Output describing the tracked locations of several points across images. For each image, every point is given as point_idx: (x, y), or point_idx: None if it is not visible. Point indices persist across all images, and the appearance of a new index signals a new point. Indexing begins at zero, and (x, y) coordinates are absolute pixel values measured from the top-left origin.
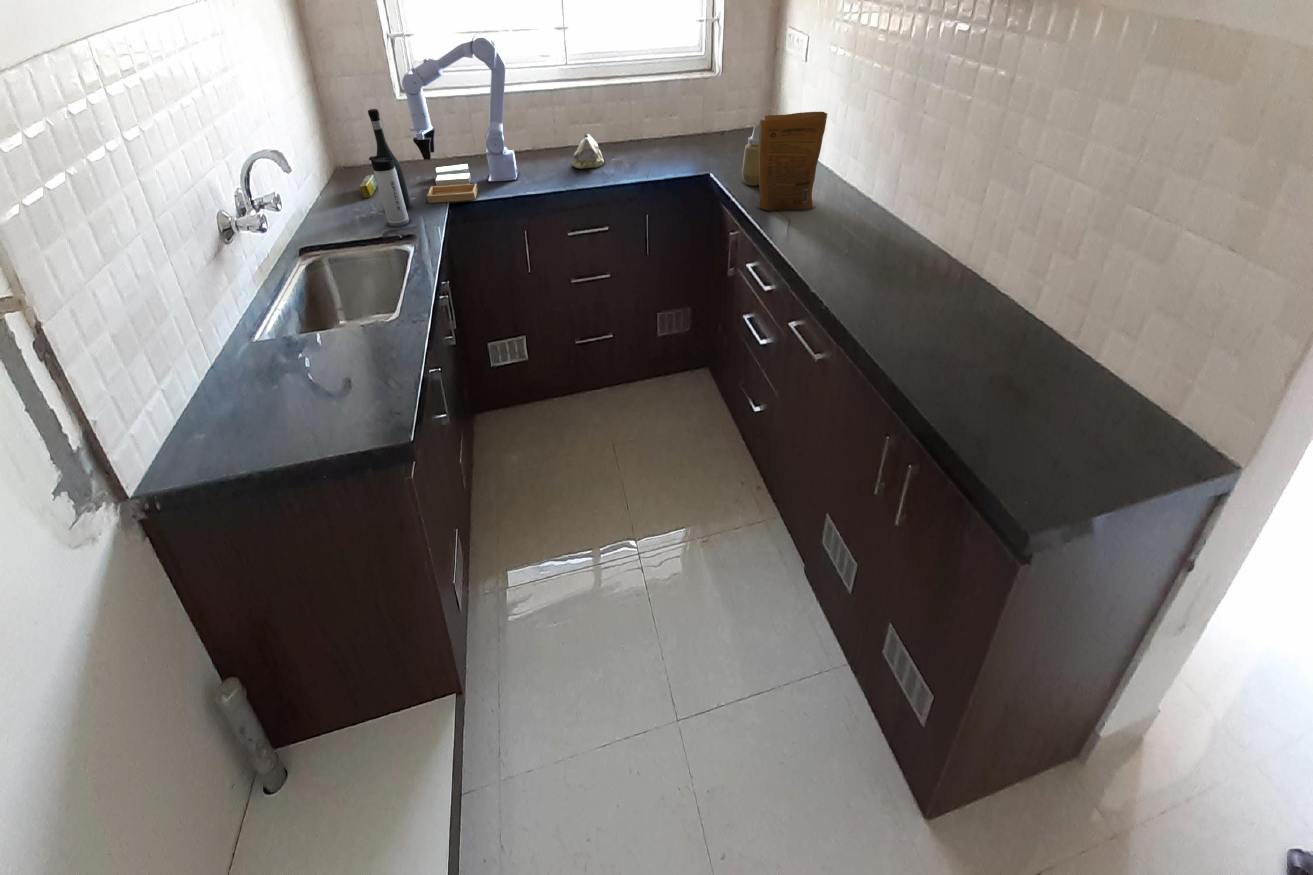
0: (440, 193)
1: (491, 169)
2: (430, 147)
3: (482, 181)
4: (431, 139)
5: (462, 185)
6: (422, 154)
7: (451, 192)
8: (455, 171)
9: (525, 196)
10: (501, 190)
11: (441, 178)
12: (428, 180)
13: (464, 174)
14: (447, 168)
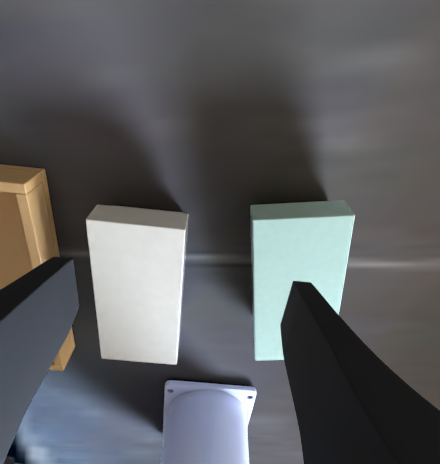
0: (16, 215)
1: (176, 433)
2: (296, 349)
3: (185, 360)
4: (313, 458)
5: None
6: (8, 292)
7: (30, 264)
8: (253, 307)
9: None
10: (69, 402)
11: (116, 251)
12: (298, 135)
13: (161, 347)
14: (300, 279)
